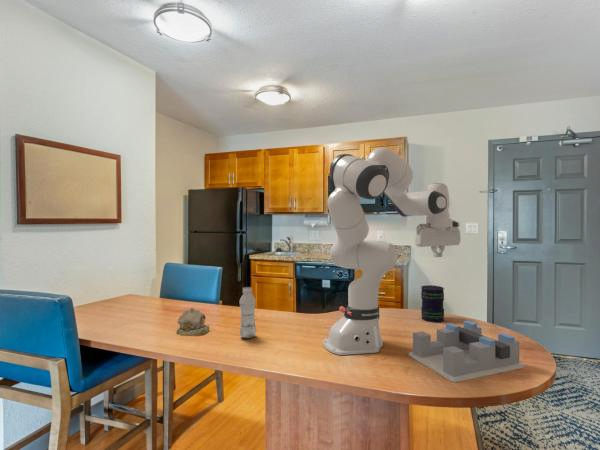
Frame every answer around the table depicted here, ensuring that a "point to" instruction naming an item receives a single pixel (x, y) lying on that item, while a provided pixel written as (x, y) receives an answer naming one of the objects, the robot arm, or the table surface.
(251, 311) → the plastic bottle
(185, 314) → the ceramic model
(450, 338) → the grey slotted fixture rack
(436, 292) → the black ribbed barrel
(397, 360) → the table surface
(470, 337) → the dark square rod
